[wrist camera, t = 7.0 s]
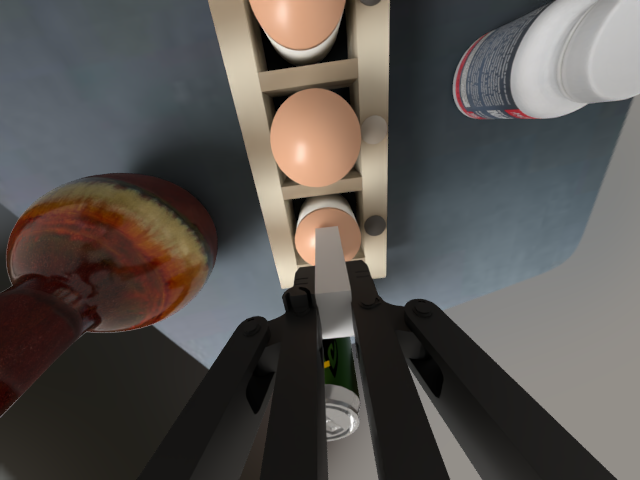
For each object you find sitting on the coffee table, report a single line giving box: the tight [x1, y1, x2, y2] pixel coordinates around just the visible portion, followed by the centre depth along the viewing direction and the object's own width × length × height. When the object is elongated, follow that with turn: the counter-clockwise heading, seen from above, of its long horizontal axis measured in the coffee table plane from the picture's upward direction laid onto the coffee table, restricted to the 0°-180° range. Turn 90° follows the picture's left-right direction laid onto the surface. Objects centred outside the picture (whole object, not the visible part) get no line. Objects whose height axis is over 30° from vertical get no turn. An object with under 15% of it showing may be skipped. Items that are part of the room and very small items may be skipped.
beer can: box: [322, 337, 361, 441], centre depth 20 cm, size 5×5×12 cm
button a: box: [249, 0, 346, 66], centre depth 12 cm, size 5×5×4 cm
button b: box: [270, 88, 361, 187], centre depth 14 cm, size 5×5×4 cm
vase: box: [0, 173, 218, 417], centre depth 14 cm, size 11×11×15 cm
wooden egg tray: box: [208, 0, 390, 289], centre depth 16 cm, size 23×9×4 cm, turn 7°
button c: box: [295, 193, 361, 266], centre depth 18 cm, size 5×5×4 cm
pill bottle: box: [453, 0, 640, 119], centre depth 12 cm, size 5×5×9 cm
